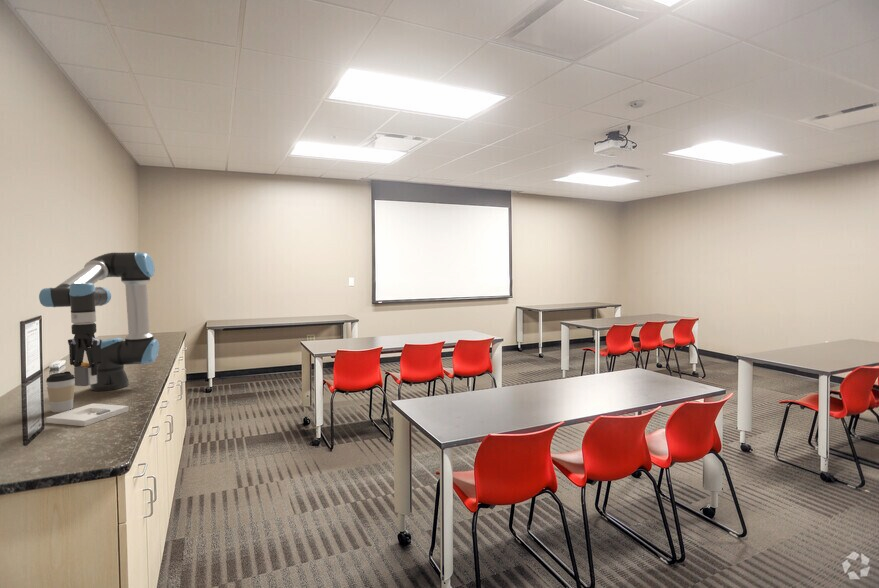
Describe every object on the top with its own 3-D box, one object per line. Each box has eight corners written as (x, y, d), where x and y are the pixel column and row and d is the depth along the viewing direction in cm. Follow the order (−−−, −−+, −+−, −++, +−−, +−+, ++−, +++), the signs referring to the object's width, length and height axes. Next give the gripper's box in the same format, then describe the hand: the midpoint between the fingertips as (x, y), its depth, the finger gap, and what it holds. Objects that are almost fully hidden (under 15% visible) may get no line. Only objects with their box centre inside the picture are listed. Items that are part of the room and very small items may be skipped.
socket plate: (92, 408, 189) (92, 401, 189) (128, 410, 185) (128, 404, 185) (46, 422, 171) (45, 415, 171) (85, 426, 167) (84, 419, 167)
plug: (87, 382, 180) (86, 361, 180) (97, 383, 179) (97, 361, 178) (74, 385, 175) (73, 363, 175) (85, 386, 174) (84, 364, 174)
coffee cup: (60, 413, 182) (58, 376, 181) (41, 412, 184) (39, 375, 183) (82, 406, 191) (80, 371, 190) (64, 405, 193) (62, 370, 192)
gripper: (55, 324, 174) (58, 384, 175) (93, 324, 170) (96, 387, 171) (74, 321, 182) (77, 380, 183) (112, 322, 178) (114, 382, 179)
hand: (86, 383), depth 177 cm, fingers closed on plug, 5 cm apart
